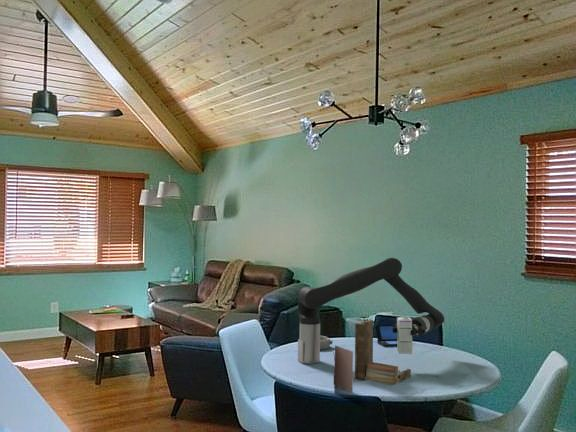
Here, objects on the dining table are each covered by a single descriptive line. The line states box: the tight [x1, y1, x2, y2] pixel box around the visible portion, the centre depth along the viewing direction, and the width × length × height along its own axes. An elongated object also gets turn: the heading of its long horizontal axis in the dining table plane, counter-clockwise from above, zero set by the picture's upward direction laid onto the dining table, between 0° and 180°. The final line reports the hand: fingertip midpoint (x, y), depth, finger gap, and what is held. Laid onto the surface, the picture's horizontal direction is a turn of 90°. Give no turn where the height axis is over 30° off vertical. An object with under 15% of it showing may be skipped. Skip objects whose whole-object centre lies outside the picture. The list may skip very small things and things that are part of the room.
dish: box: [320, 335, 334, 350], centre depth 272 cm, size 14×14×5 cm
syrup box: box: [396, 316, 413, 355], centre depth 230 cm, size 6×6×14 cm
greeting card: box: [332, 345, 354, 394], centre depth 202 cm, size 11×7×15 cm, turn 175°
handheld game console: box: [374, 323, 397, 348], centre depth 282 cm, size 16×13×9 cm
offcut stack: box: [365, 361, 401, 386], centre depth 214 cm, size 6×12×6 cm, turn 53°
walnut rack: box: [354, 319, 412, 383], centre depth 218 cm, size 18×16×22 cm
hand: (402, 331), depth 228 cm, fingers closed on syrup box, 7 cm apart
